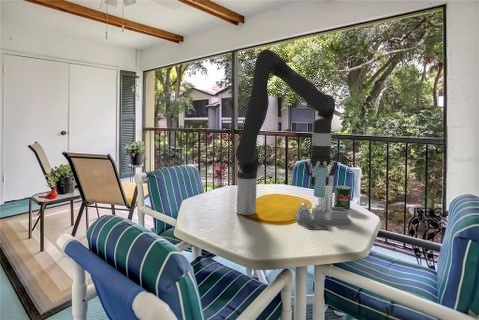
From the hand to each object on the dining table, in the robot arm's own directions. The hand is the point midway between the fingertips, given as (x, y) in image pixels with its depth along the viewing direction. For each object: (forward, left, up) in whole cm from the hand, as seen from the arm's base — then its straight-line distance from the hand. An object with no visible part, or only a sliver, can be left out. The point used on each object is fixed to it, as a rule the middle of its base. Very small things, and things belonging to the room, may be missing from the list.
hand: (319, 185), depth 124 cm
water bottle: (+9, +24, -18) cm, 32 cm away
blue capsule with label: (0, -1, -4) cm, 4 cm away
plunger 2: (+2, +7, -15) cm, 17 cm away
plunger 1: (-5, +7, -15) cm, 18 cm away
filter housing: (+4, +8, -18) cm, 20 cm away
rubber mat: (0, 0, -18) cm, 18 cm away
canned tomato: (+19, +29, -18) cm, 39 cm away
